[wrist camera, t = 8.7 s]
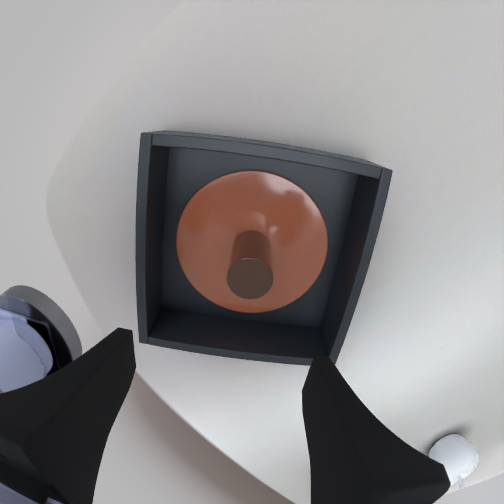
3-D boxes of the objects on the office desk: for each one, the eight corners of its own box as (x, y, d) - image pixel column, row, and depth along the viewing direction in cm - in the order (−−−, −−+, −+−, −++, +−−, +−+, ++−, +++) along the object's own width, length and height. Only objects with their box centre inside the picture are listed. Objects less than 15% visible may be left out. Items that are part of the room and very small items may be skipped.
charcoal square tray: (155, 309, 22) (138, 342, 18) (163, 130, 17) (140, 132, 14) (324, 331, 22) (334, 367, 19) (368, 160, 18) (393, 170, 14)
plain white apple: (465, 417, 28) (490, 466, 20) (468, 439, 30) (488, 481, 23) (415, 445, 29) (433, 497, 22) (423, 463, 31) (438, 508, 24)
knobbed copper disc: (175, 296, 21) (156, 339, 17) (184, 159, 18) (160, 171, 13) (308, 314, 21) (319, 360, 17) (339, 182, 18) (364, 201, 14)
